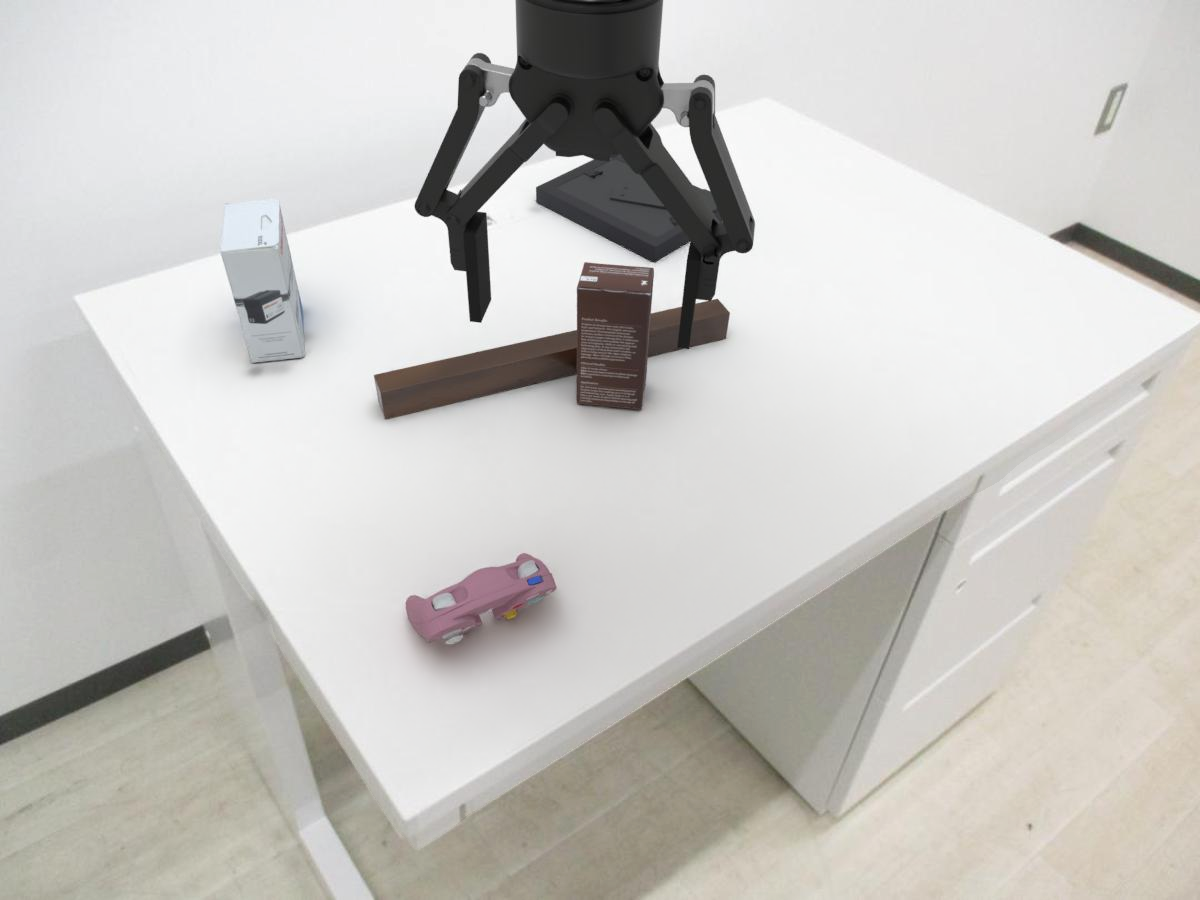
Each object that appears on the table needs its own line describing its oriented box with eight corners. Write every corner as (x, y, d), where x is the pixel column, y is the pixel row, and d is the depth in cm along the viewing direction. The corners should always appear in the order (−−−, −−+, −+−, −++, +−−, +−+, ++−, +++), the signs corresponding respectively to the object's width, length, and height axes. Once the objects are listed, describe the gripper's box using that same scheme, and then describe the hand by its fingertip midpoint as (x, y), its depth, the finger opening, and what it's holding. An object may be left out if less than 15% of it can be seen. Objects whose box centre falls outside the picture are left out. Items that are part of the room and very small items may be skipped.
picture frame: (730, 217, 107) (613, 164, 116) (732, 199, 106) (614, 146, 114) (654, 262, 100) (535, 202, 108) (655, 244, 98) (535, 184, 107)
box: (646, 379, 86) (656, 265, 77) (642, 412, 82) (652, 296, 74) (580, 373, 86) (583, 258, 78) (573, 405, 83) (575, 289, 75)
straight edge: (726, 338, 91) (730, 312, 89) (384, 419, 81) (380, 392, 79) (714, 324, 92) (717, 298, 90) (378, 401, 82) (373, 374, 80)
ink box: (251, 311, 91) (222, 200, 83) (304, 305, 92) (280, 195, 84) (248, 365, 85) (217, 251, 77) (305, 358, 86) (279, 246, 78)
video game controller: (422, 665, 65) (430, 646, 59) (398, 604, 66) (404, 579, 60) (551, 612, 68) (572, 589, 62) (527, 555, 70) (545, 527, 63)
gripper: (840, -26, 49) (775, 313, 63) (375, -66, 51) (415, 269, 66) (843, 25, 43) (771, 383, 58) (323, -23, 46) (379, 332, 60)
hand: (581, 323), depth 62 cm, fingers open, 13 cm apart
